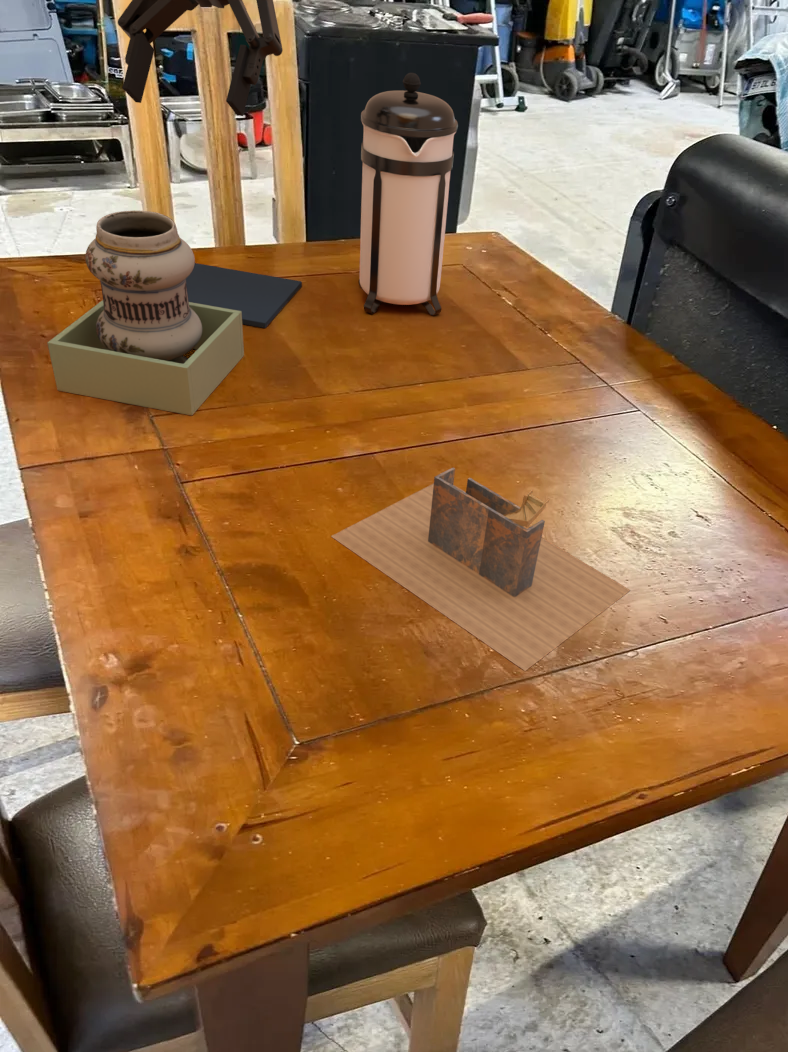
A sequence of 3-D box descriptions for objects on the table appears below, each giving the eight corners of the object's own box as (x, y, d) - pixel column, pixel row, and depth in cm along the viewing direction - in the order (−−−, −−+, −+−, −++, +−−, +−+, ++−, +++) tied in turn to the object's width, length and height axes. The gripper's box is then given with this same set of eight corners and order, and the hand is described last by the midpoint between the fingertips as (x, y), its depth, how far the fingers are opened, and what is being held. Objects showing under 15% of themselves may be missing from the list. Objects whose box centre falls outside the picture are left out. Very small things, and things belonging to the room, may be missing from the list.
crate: (57, 390, 104) (46, 342, 100) (123, 333, 116) (116, 288, 112) (192, 415, 102) (187, 368, 98) (244, 355, 115) (241, 311, 111)
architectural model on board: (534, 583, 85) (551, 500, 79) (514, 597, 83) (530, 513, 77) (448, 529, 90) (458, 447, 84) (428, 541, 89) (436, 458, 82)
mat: (127, 304, 123) (126, 298, 123) (176, 264, 135) (175, 259, 135) (265, 328, 121) (265, 322, 121) (302, 286, 134) (302, 281, 133)
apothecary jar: (121, 403, 103) (96, 247, 91) (91, 359, 110) (64, 209, 98) (221, 385, 108) (209, 235, 97) (185, 344, 116) (170, 200, 104)
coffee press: (472, 303, 135) (498, 79, 115) (401, 330, 125) (416, 91, 106) (390, 267, 143) (401, 52, 123) (316, 290, 133) (316, 61, 113)
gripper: (338, -45, 102) (292, 133, 102) (152, -60, 108) (109, 109, 108) (313, -98, 95) (264, 94, 95) (116, -111, 101) (70, 70, 101)
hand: (182, 102), depth 102 cm, fingers open, 13 cm apart
